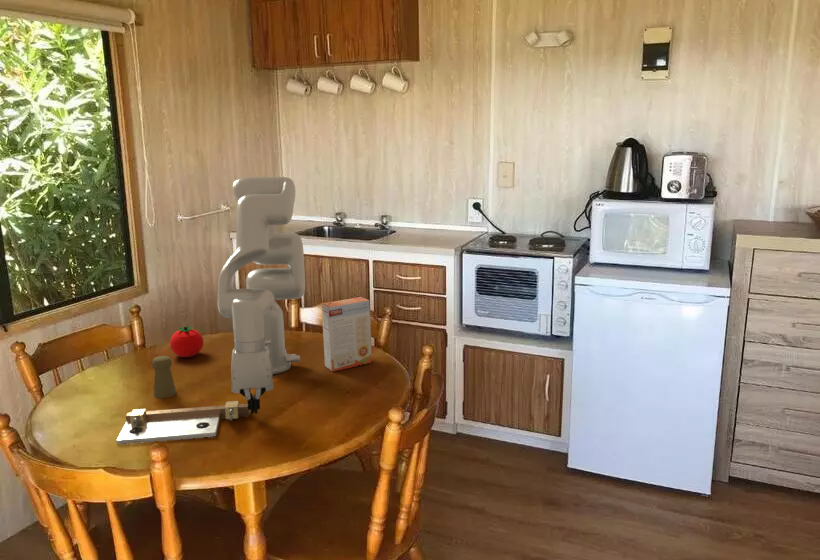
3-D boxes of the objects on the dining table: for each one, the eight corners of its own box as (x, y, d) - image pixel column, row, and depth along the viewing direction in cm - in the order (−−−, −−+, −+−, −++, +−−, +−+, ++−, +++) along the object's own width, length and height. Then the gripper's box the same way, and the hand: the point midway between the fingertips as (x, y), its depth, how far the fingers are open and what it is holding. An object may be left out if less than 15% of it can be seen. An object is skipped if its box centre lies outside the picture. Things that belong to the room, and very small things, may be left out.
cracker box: (363, 358, 221) (361, 295, 216) (372, 363, 216) (370, 300, 211) (323, 366, 214) (320, 302, 209) (331, 372, 209) (329, 306, 204)
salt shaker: (149, 394, 194) (145, 357, 191) (169, 387, 198) (166, 352, 196) (160, 400, 190) (156, 362, 187) (180, 393, 194) (176, 357, 192)
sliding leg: (239, 412, 178) (238, 400, 177) (237, 422, 172) (236, 410, 172) (227, 413, 178) (226, 401, 177) (225, 423, 172) (224, 411, 171)
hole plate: (250, 410, 183) (249, 395, 182) (246, 434, 169) (245, 417, 168) (130, 419, 178) (128, 404, 177) (117, 444, 164) (115, 428, 163)
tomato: (202, 348, 231) (199, 320, 228) (206, 358, 221) (204, 329, 219) (169, 353, 227) (167, 324, 224) (172, 363, 217) (170, 333, 215)
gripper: (280, 338, 177) (283, 403, 182) (220, 341, 175) (225, 408, 179) (279, 347, 170) (283, 415, 175) (217, 351, 168) (223, 420, 172)
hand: (254, 411), depth 177 cm, fingers closed
